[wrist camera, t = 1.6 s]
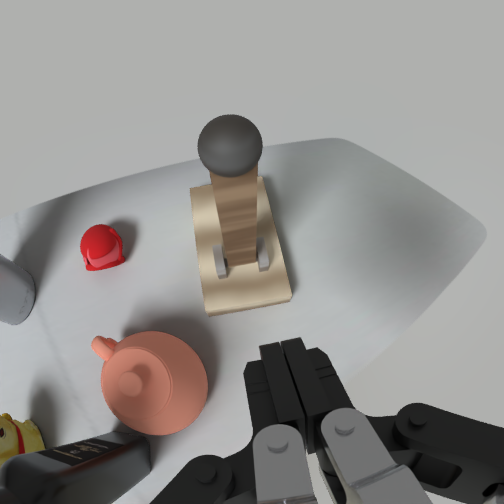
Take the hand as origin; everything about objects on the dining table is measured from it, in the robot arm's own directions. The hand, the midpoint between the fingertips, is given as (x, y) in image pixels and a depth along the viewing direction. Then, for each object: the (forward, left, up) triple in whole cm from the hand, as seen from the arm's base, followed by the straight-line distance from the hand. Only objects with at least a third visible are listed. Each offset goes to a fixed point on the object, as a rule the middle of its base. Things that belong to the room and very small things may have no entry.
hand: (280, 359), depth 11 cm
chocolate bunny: (-28, -22, -26) cm, 44 cm away
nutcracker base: (-7, +15, -26) cm, 31 cm away
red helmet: (-24, +10, -26) cm, 37 cm away
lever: (-5, +12, -20) cm, 24 cm away
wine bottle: (-13, -15, -26) cm, 33 cm away
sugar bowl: (-12, -4, -26) cm, 29 cm away
